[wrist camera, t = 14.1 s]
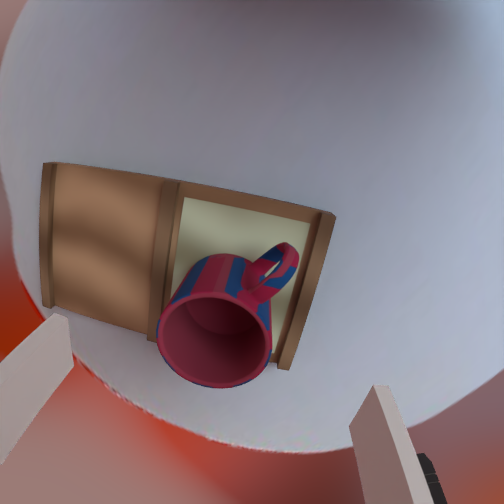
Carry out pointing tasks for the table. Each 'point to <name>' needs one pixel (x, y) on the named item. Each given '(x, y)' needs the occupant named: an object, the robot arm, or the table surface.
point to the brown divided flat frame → (165, 245)
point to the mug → (224, 317)
